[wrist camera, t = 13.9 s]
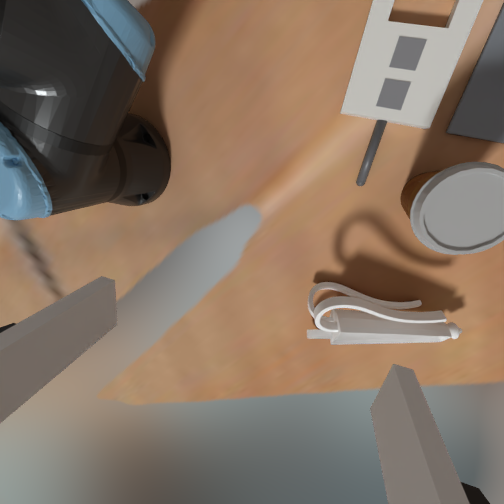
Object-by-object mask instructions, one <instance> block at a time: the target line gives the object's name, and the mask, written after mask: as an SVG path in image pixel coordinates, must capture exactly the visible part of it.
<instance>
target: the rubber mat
mask: <svg viewBox="0 0 504 504" xmlns="http://www.w3.org/2000/svg"><path fill="white" fill-rule="evenodd" d="M446 133H450V134H455V135H461V136H466V137H472V138H477V139H483V140H488V141H494V142H499V143H504V3H503V6H502V8H501V10H500V12H499V15H498V17H497V19H496V21H495V23H494V26H493V28H492V30H491V32H490V35H489V37H488V39H487V41H486V44H485V46H484V48H483V50H482V53H481V55H480V57H479V59H478V62H477V64H476V66H475V68H474V70H473V73H472V75H471V77H470V79H469V82H468V84H467V86H466V88H465V91H464V93H463V95H462V97H461V100H460V102H459V104H458V106H457V108H456V111H455V113H454V115H453V117H452V120H451V122H450V124H449V126H448V129H447V131H446Z"/></svg>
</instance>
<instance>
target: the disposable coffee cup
mask: <svg viewBox="0 0 504 504" xmlns="http://www.w3.org/2000/svg"><path fill="white" fill-rule="evenodd" d="M401 205H402V207H403V209H404V210H405V212H406V214H407V215H408V217H409V219H410V222H411V226H412V230H413V232H414V233H415V235H416V237H417V238H418V239H419V240H420V242H421V243H423V244H424V245H425V246H427V247H428V248H430V249H432V250H434V251H437V252H440V253H444V254H453V255H457V254H471V253H477V252H481V251H484V250H486V249H489V248H491V247H493V246H495V245H497V244H498V243H500V242H501V241H503V240H504V169H503V168H501V167H500V166H498V165H494V164H490V163H486V162H467V163H462V164H458V165H455V166H452V167H449V168H447V169H445V170H441V171H435V172H429V173H423V174H420V175H418V176H416V177H414V178H413V179H411V180H410V181H409V182H408V183H407V184H406V186H405V187H404V189H403V191H402V194H401Z"/></svg>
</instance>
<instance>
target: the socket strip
mask: <svg viewBox="0 0 504 504" xmlns="http://www.w3.org/2000/svg"><path fill="white" fill-rule="evenodd" d="M482 2H483V0H456V1H455V3H454V6H453V9H452V11H451V14H450V16H449V19H448V21H447V24H446V27H445V28H441V27H433V26H425V25H416V24H408V23H399V22H391V21H388V19H389V16H390V13H391V10H392V6H393V3H394V0H373V2H372V6H371V9H370V13H369V16H368V19H367V23H366V26H365V30H364V33H363V37H362V40H361V43H360V47H359V50H358V54H357V57H356V61H355V64H354V68H353V71H352V74H351V78H350V81H349V85H348V88H347V92H346V95H345V99H344V102H343V105H342V109H341V112H340V114H345V115H351V116H356V117H362V118H367V119H373V120H377V123H376V126H375V129H374V132H373V135H372V138H371V141H370V143H369V146H368V149H367V152H366V155H365V158H364V161H363V164H362V167H361V169H360V172H359V175H358V178H357V181H356V183H357V185H358V186H363V185H364V184H365V182H366V179H367V176H368V173H369V171H370V168H371V165H372V162H373V160H374V157H375V154H376V151H377V148H378V146H379V143H380V140H381V137H382V134H383V132H384V129H385V126H386V123H387V122H389V123H395V124H400V125H406V126H411V127H417V128H422V129H427V128H430V126H431V123H432V121H433V119H434V116H435V114H436V112H437V109H438V107H439V104H440V102H441V100H442V97H443V95H444V93H445V90H446V88H447V85H448V83H449V81H450V78H451V76H452V74H453V71H454V69H455V66H456V64H457V62H458V59H459V57H460V55H461V52H462V50H463V48H464V45H465V43H466V40H467V38H468V36H469V33H470V31H471V29H472V26H473V24H474V21H475V19H476V17H477V14H478V12H479V10H480V7H481V5H482Z"/></svg>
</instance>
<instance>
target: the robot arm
mask: <svg viewBox="0 0 504 504" xmlns="http://www.w3.org/2000/svg"><path fill="white" fill-rule="evenodd" d="M154 50H155V35H154V32H153V30H152V28H151V26H150V24H149V23H148V22H147V20H146V19H145V18H144V17H143V16H142V15H141V14H140V13H139V12H138V11H137V10H136V9H135V8H134V7H133V6H132V5H131V4H130V3H129V1H127V0H0V217H1V218H4V219H9V220H23V219H30V218H36V217H39V218H45V217H48V216H50V215H54V214H58V213H63V212H67V211H71V210H75V209H79V208H84V207H88V206H92V205H96V204H101V203H105V202H109V203H115V204H120V205H126V206H139V205H143V204H147V203H150V202H152V201H154V200H156V199H157V198H158V197H159V196H160V195H161V194H162V193H163V191H164V190H165V188H166V186H167V184H168V180H169V176H170V160H169V154H168V151H167V148H166V145H165V143H164V141H163V139H162V137H161V136H160V134H159V133H158V131H157V130H156V129H155V128H154V127H153V126H152V125H151V124H150V123H149V122H148V121H146V120H145V119H143V118H141V117H139V116H137V115H133V114H129V113H128V112H129V110H130V108H131V105H132V103H133V101H134V99H135V97H136V95H137V92H138V90H139V88H140V86H141V84H142V82H144V81H145V79H146V76H145V73H146V71H147V68H148V66H149V63H150V60H151V58H152V55H153V53H154ZM116 325H117V311H116V292H115V280H112V279H109V278H106V277H102V276H101V277H99V278H98V279H96V280H94V281H92V282H90V283H89V284H87V285H85V286H83V287H82V288H80V289H78V290H76V291H74V292H73V293H71V294H69V295H67V296H66V297H64V298H62V299H60V300H58V301H57V302H55V303H53V304H51V305H50V306H48V307H46V308H44V309H42V310H41V311H39V312H37V313H35V314H33V315H32V316H30V317H28V318H26V319H25V320H23V321H21V322H19V323H17V324H15V323H12V324H9V325H6V326H3V327H1V328H0V423H1V422H2V421H4V420H5V419H6V418H7V417H8V416H9V415H10V414H12V413H13V412H14V411H15V410H17V409H18V408H19V407H20V406H21V405H23V404H24V403H25V402H26V401H27V400H28V399H30V398H31V397H32V396H33V395H34V394H36V393H37V392H38V391H39V390H40V389H42V388H43V387H44V386H45V385H46V384H47V383H49V382H50V381H51V380H52V379H53V378H55V377H56V376H57V375H58V374H59V373H61V372H62V371H63V370H64V369H65V368H66V367H68V366H69V365H70V364H71V363H72V362H74V361H75V360H76V359H77V358H78V357H80V356H81V355H82V354H83V353H84V352H85V351H87V350H88V349H89V348H90V347H91V346H92V345H94V344H95V343H96V342H97V341H98V340H100V339H101V338H102V337H103V336H104V335H106V334H107V333H108V332H109V331H110V330H112V329H113V328H114V327H115V326H116ZM370 409H371V415H372V420H373V425H374V431H375V436H376V441H377V447H378V452H379V457H380V462H381V468H382V473H383V478H384V483H385V488H386V494H387V499H388V504H490V503H489V502H488V500H487V499H486V498H485V496H484V495H483V494H482V492H481V491H480V489H479V488H476V487H473V486H470V485H468V484H465V483H462V482H460V480H459V477H458V475H457V473H456V470H455V468H454V465H453V463H452V461H451V458H450V456H449V454H448V451H447V449H446V446H445V444H444V442H443V439H442V437H441V435H440V432H439V430H438V428H437V425H436V423H435V421H434V418H433V416H432V414H431V411H430V408H429V406H428V404H427V401H426V399H425V397H424V394H423V392H422V389H421V387H420V385H419V382H418V380H417V378H416V375H415V373H414V370H412V369H409V368H406V367H402V366H399V365H396V364H393V365H392V367H391V369H390V371H389V373H388V375H387V377H386V379H385V381H384V383H383V385H382V387H381V389H380V391H379V393H378V395H377V397H376V399H375V401H374V403H373V404H372V406H371V408H370Z"/></svg>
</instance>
